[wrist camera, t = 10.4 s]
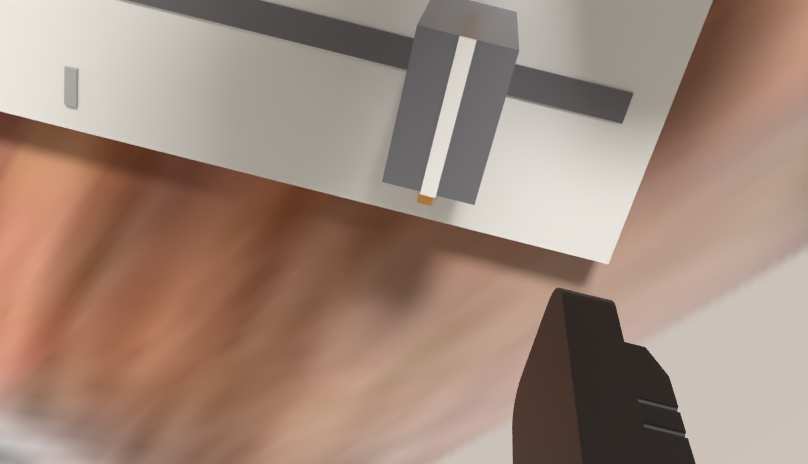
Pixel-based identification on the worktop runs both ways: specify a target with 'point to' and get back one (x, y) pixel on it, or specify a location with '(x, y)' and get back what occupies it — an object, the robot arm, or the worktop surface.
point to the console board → (364, 97)
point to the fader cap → (452, 98)
